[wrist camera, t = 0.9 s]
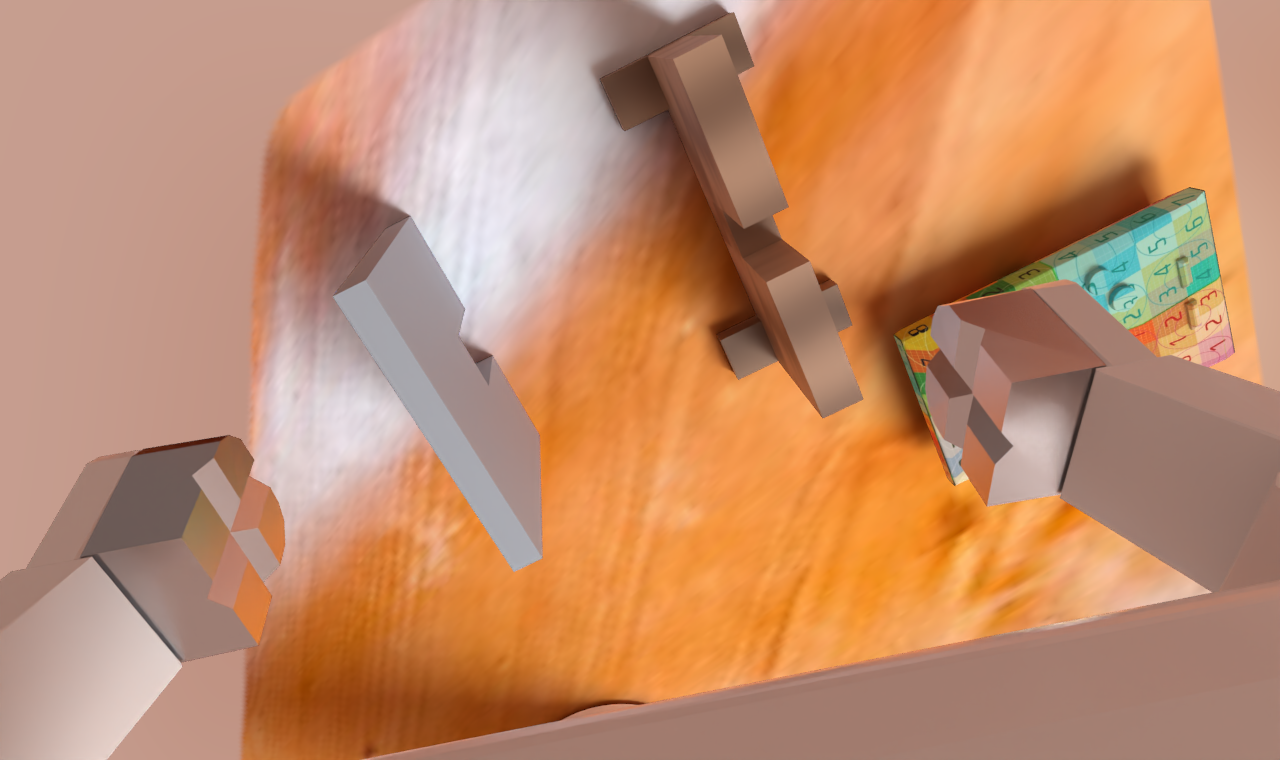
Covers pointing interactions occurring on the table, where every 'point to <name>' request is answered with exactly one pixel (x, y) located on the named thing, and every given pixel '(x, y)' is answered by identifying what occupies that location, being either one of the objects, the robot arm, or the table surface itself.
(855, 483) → the table surface
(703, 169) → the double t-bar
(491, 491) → the grey notched slab
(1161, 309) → the puzzle game
